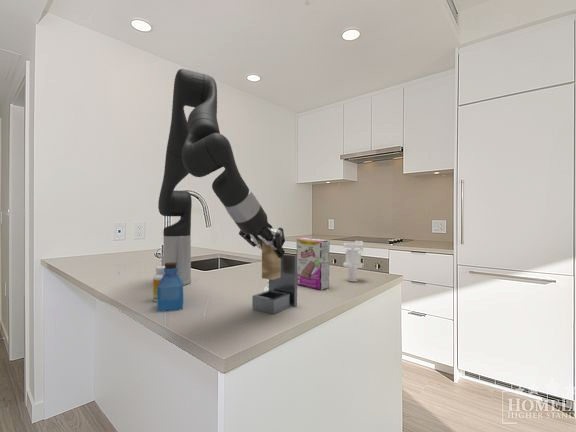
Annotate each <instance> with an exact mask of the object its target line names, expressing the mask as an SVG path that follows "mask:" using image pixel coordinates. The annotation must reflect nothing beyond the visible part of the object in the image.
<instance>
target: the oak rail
mask: <svg viewBox="0 0 576 432" xmlns="http://www.w3.org/2000/svg"><path fill="white" fill-rule="evenodd" d="M276 229H277V230H278V229H279V228H276ZM273 244H275V241H273ZM261 278H262V279H265V280H268V279H270V280H274V279H277V278H281V258H279V257H278V256H277V254H276V253H275V251H274V249H273V248H272V247H271V246H270V245H267V244H266V243H265V242H264V241H263V240H262V250H261Z"/></svg>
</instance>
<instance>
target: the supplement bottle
mask: <svg viewBox="0 0 576 432" xmlns="http://www.w3.org/2000/svg"><path fill="white" fill-rule="evenodd" d="M164 268H165V266H162V265H160V266H159V265H158V266H156V267H155V272H156V274H154V275H153V277H152V278H153V282H152V284H153V286H152V289H153V291H152V292H153V293H152V294H153V295H152V296H153V301H154V302H157V288H158V286H159V283H160V281H161V279H162V277H163V275H165V272H164Z"/></svg>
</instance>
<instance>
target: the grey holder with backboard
mask: <svg viewBox="0 0 576 432" xmlns="http://www.w3.org/2000/svg"><path fill="white" fill-rule="evenodd" d="M268 285H269V290H268V291H265V292H264V291H262V292H260V293H257V294H253V295H252V297H251V298H252V300H251V301H252V303H251V304H252V305H251V306H252V307H251V308H252V310H254V311H259V312H263V313H268V314H272V315H275V314H278V313H279V312H282V311H284V310H286V309H289V308H290V307H294V308H295V307H297V306H298V285H297V254H289V253H288V254H287V253H284V255H283V257H282V258H281V278H277V279H274V280H270V279H269V284H268Z"/></svg>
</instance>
